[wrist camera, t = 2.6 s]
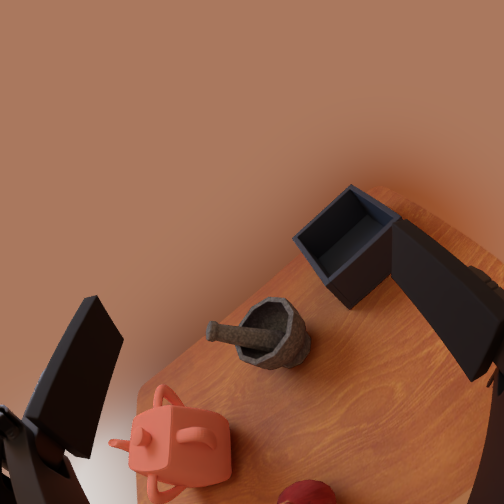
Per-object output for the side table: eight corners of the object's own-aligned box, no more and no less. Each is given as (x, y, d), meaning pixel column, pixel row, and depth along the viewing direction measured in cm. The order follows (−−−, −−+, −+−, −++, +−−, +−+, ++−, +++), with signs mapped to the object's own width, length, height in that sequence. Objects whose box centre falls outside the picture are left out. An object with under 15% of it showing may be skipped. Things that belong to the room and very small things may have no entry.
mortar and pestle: (315, 307, 41) (263, 263, 35) (328, 362, 34) (270, 324, 28) (257, 339, 45) (201, 304, 39) (261, 390, 38) (196, 362, 32)
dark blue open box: (369, 211, 45) (350, 183, 41) (416, 248, 34) (401, 216, 31) (314, 261, 47) (291, 238, 44) (349, 310, 36) (325, 286, 33)
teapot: (265, 440, 32) (185, 420, 25) (213, 517, 26) (131, 510, 20) (205, 394, 45) (141, 366, 39) (167, 460, 40) (102, 440, 33)
